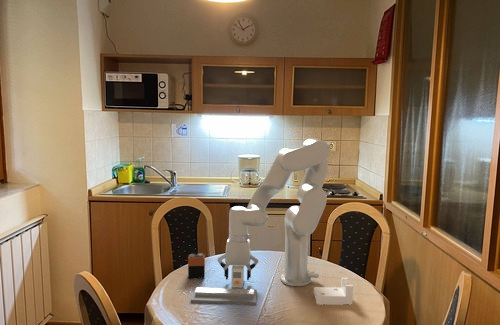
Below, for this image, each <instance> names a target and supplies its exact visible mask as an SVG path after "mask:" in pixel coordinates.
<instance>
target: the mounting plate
mask: <svg viewBox="0 0 500 325" xmlns="http://www.w3.org/2000/svg"><path fill="white" fill-rule="evenodd" d="M196 288H202V287H200V286H199V287H195V288H194V291H193V293H192V296H191V298H190V303H198V304H201V303H202V304H226V305H227V304H228V305H248V306H249V305H252V306H256V305H257V293H258V292H257V290H258V289H254V288H253V289H252V288H248V289H249V290H254V298H245V297H219V296H195V291H196ZM223 289H229V288H227V287H226V288H225V287H223Z"/></svg>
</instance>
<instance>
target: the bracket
mask: <svg viewBox="0 0 500 325" xmlns="http://www.w3.org/2000/svg"><path fill="white" fill-rule="evenodd" d="M313 296H314V300H315V303H316V305H323V304H325V306H327V305H328V306H329V305H331V306H332V305H334V306H335V305H336V306H337V305H339V306H341V305H342V306H344V305H343V304H349V305H348V306H352V305H353V300H354V299H353V298H354V297H353V296H354V285H353V284H350V278H349V277H341V279H340V287H334V286H333V287H331V286H330V287H325V286H324V287H323V286H320V287H319V286H315V287H314V286H313ZM326 304H327V305H326ZM351 304H352V305H351Z"/></svg>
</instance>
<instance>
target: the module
mask: <svg viewBox="0 0 500 325" xmlns="http://www.w3.org/2000/svg"><path fill="white" fill-rule="evenodd" d="M231 266H232V267H231V288H243V287H244V282H245V281H244V280H245V278H244V277H245V266H239V265H231Z"/></svg>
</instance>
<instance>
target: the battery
mask: <svg viewBox="0 0 500 325" xmlns="http://www.w3.org/2000/svg"><path fill="white" fill-rule="evenodd" d="M187 257H188V258H187V265H188V267H187V268H188V269H187V277H188V279H190V280H191V279H193V280H194V279H204V278H205V274H206V272H205V271H206V270H205V269H206V268H205V267H206V266H205V264H206V262H205V261H206V260H205V257H206V255H205V254H204V253H201V252H200V253H197V254H195V253H191V254H189V255H188V256H187Z"/></svg>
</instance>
